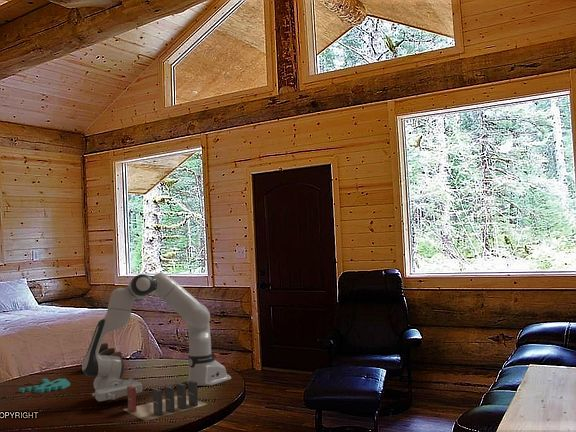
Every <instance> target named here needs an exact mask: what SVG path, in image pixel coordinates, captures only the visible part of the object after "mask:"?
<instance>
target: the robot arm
mask: <svg viewBox="0 0 576 432" xmlns="http://www.w3.org/2000/svg"><path fill="white" fill-rule="evenodd" d="M150 294H154V295H156V296H158V298H160V300H162V301H163V302H165V303H166V304H167V305H168V306H169V307H171V308H172V310H174V311H175V312H176V313H177V314H178V315H179V316H180V317H181V318H182V319H183V320H185V322H186V323H187V332H188V351H189V352H188V353H189V354H188V367H189V368H188V369H189V370H188V378H187V383H186V384H187V385H188V381H190V380H192V381H195V382H197V387H198V386H201V387H202V386H206V387H207V386H214V385H216V384H219V383H223V382H227V381H229V380H232V376H231V375H230V374H228V373H227V369H226V367H225V366H224V365H223V364H221V363H220V362H219V361H217V360H216V359H218V357H219V354H218V353H213V352H212V337H211V328H210V326H211V325H210V321H211V313H210V311H209V309H208V308H207V306H206V305H205V304H202V303H201V302H200V301H198V300H197V298H195V297H194V296H193V295H192V294H191V293H190V292H189V291H188V290H186V289H185V288H184V287H183V286H181V285H180V284H179V283H178V282H177V281H176V280H174V279H173V278H172V277H170V276H169V275H167V274H165V273H163V272H158V273H156V274H154V275H149V274H148V275H147V274H145V273H143V274H137V275H136V276H134V277H133V278H132V279H131V280H130V281H129V283H128V285H127V286H126V287H118V288H115V289H114V290H112V293H111V295H110V298H109V301H108V304H107V311H106V314H105V316H104V317H103V318H102V319H100V320H99V321H98V323H97V325H96V326H95V330H94V331H93V335H92V337H91V340H90V343H89V347H88V349H87V352H86V355H85V356H84V359H83V361H82V364H81V370H82V372H83V374H84V375H85V376H86V377H87V378H94V377H95V378H94V380H93V388H94V390H95V391H94V392H93V393H91V396H92V397H94V398H95V400H96V401H97V402H104V401H105V402H106V401H108V400H113V401H114V400H118V399H119V398H122V397H125V396H127V397H128V394H127V386H133V387H136V395H138V394H140V393H142V392H143V385H142V383H141V382H140V381H137V380H133V378H123V375H124V372H125V363H124V361H123V358H122V359H121V358H120V357H117V356H106V355H99V354H98V352H99V349H100V346H101V344H103V339H104V337H105V336H106V335H107V334H109V333H111V332H114V331H118V330H122V329H123V328H125V327H126V326H127V325H128V324H129V322H130V320H131V315H132V310H133V309H132V307H133V304H134V302H138V301H142V300H144V299H145V298H147V297H148V296H149V295H150Z"/></svg>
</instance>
